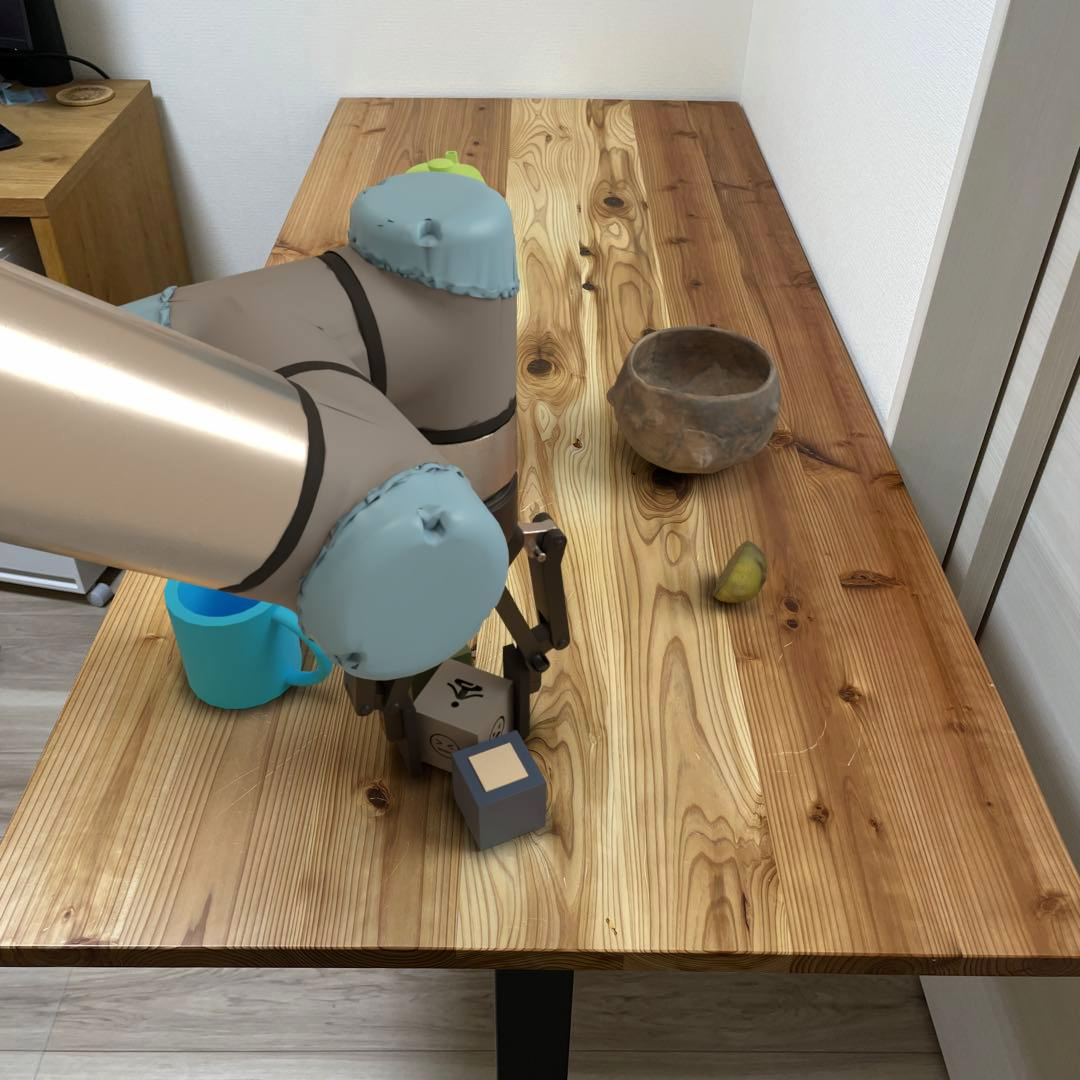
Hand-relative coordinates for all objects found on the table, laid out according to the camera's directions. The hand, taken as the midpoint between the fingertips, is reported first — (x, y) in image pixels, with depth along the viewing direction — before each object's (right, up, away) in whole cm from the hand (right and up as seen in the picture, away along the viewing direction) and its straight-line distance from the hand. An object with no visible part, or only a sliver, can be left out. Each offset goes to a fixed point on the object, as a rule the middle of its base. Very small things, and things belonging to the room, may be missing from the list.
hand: (464, 741), depth 73 cm
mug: (-15, +4, +5) cm, 16 cm away
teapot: (-6, +46, +55) cm, 72 cm away
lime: (+21, +9, +12) cm, 25 cm away
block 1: (-3, +3, +4) cm, 6 cm away
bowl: (+19, +22, +27) cm, 39 cm away
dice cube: (0, 0, 0) cm, 0 cm away
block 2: (+3, -4, -4) cm, 6 cm away
